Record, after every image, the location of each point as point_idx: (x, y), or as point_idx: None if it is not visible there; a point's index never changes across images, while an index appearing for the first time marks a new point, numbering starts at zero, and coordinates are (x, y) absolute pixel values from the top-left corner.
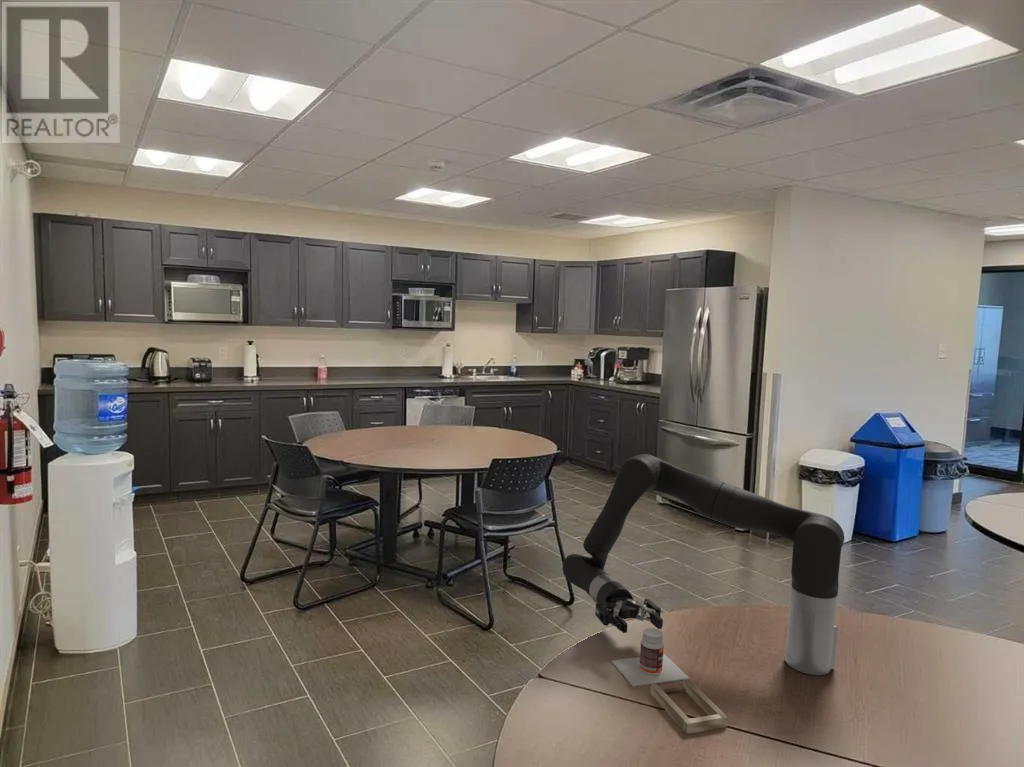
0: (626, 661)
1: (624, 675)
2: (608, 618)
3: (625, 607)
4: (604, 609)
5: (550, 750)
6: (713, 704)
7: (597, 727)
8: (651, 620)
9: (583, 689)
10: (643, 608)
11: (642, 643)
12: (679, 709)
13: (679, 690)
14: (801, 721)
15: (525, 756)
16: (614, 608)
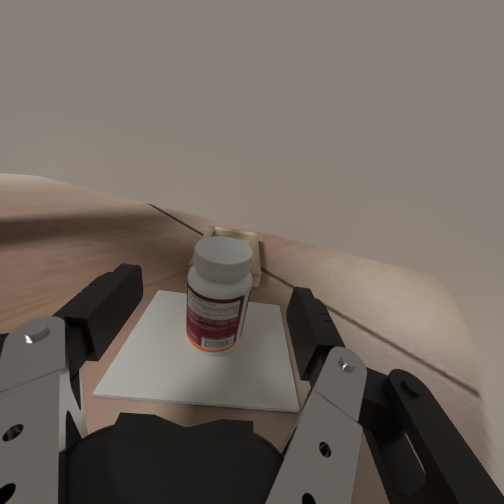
0: (254, 388)
1: (284, 335)
2: (380, 378)
3: (205, 496)
4: (460, 491)
5: (392, 269)
6: (205, 235)
7: (347, 272)
8: (100, 344)
9: (373, 330)
10: (64, 379)
11: (252, 279)
12: (252, 242)
13: None
14: (123, 218)
15: (413, 271)
16: (359, 427)
